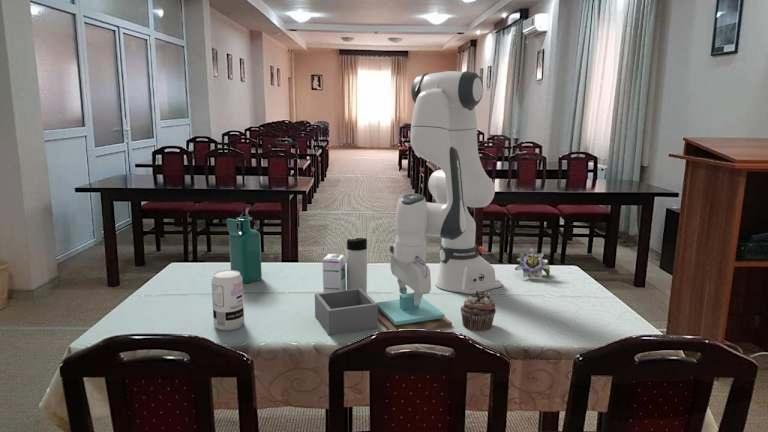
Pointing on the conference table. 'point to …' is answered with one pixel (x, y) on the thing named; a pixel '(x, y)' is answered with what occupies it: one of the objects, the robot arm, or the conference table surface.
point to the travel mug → (357, 264)
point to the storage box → (345, 311)
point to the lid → (409, 310)
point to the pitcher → (244, 249)
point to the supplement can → (227, 300)
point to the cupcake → (478, 312)
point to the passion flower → (532, 264)
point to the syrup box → (334, 273)
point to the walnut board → (416, 325)
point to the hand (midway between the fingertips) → (409, 298)
